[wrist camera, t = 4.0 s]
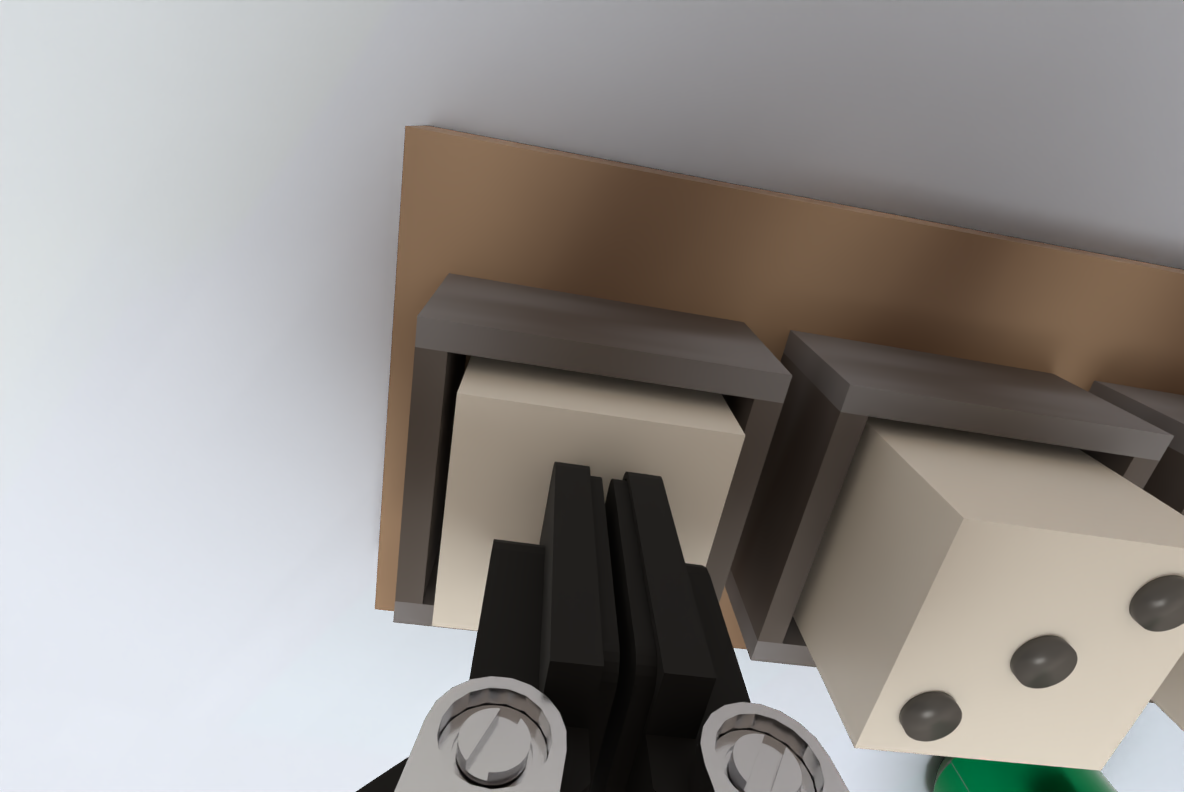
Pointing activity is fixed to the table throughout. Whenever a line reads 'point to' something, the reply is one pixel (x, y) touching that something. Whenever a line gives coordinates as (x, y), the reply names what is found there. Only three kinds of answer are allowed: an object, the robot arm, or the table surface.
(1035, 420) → the button panel
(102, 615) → the table surface
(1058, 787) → the soda can
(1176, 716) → the two dot button
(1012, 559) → the three dot button
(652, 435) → the one dot button
